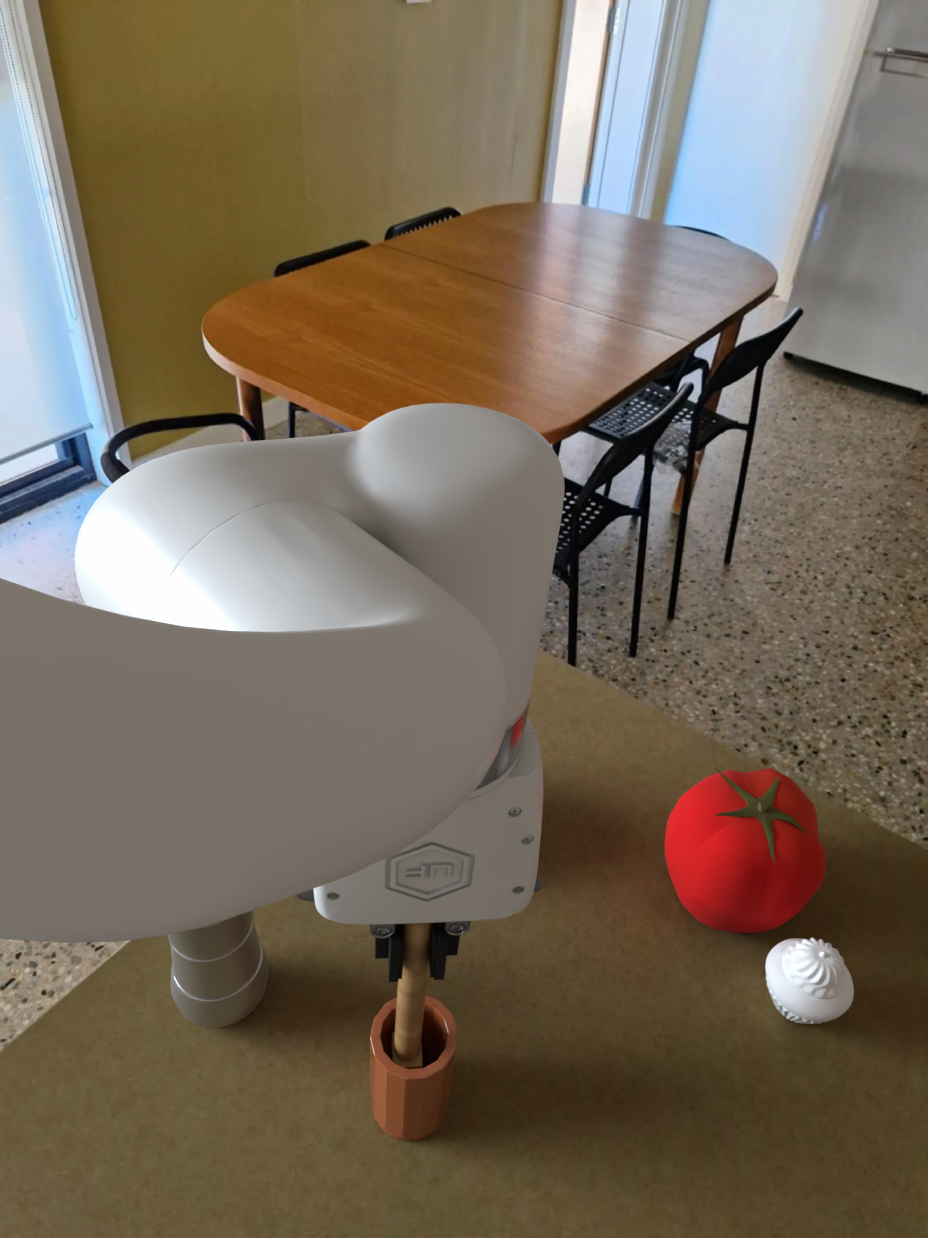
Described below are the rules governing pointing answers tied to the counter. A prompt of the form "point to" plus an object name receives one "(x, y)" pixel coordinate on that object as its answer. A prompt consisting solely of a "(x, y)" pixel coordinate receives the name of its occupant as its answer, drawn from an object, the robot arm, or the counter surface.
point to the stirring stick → (411, 997)
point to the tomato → (744, 850)
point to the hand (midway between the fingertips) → (414, 954)
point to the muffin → (808, 981)
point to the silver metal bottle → (218, 971)
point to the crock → (412, 1074)
